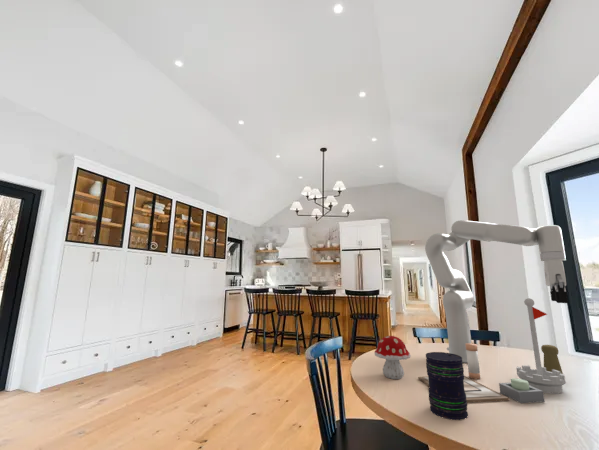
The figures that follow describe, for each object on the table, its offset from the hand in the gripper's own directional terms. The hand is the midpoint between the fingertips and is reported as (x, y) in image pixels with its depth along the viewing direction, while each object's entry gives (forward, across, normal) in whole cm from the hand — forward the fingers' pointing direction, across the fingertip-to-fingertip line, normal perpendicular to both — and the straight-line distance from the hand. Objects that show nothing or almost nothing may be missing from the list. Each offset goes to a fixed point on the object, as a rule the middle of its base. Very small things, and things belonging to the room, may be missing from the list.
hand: (559, 302), depth 111 cm
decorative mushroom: (+29, +28, -57) cm, 69 cm away
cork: (+28, -6, -4) cm, 29 cm away
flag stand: (+28, +13, -10) cm, 33 cm away
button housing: (+28, +27, -17) cm, 42 cm away
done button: (+27, +27, -17) cm, 42 cm away
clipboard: (+28, +29, -34) cm, 53 cm away
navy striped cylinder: (+28, +50, -36) cm, 68 cm away
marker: (+28, +13, -30) cm, 43 cm away
